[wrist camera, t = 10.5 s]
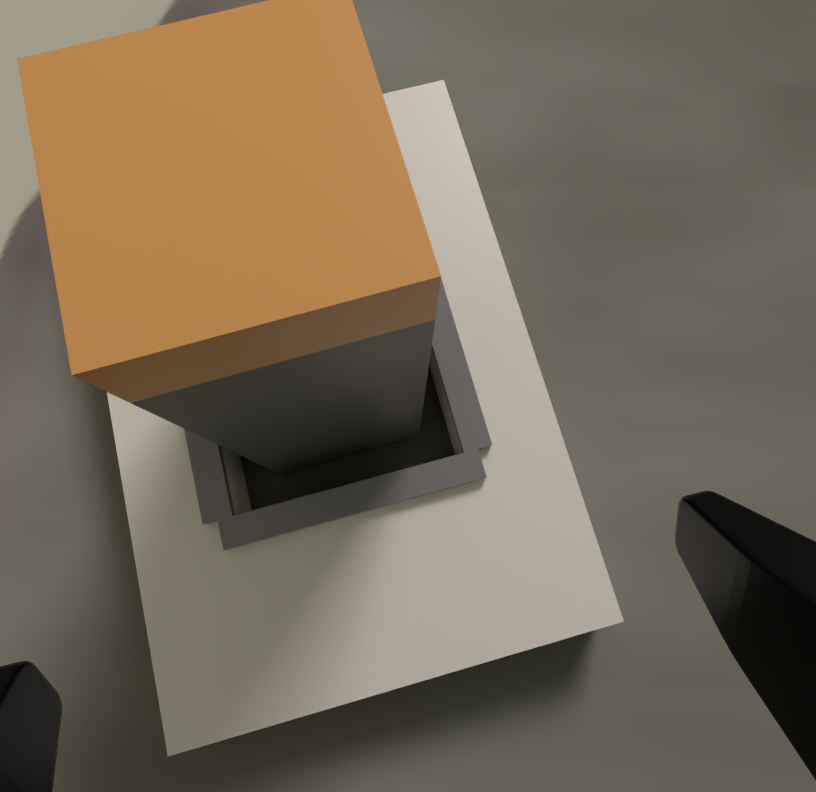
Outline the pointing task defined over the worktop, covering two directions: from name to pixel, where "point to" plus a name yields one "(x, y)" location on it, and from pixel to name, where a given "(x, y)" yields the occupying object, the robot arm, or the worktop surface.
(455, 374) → the socket plate
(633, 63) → the worktop surface
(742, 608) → the robot arm
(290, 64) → the plug
